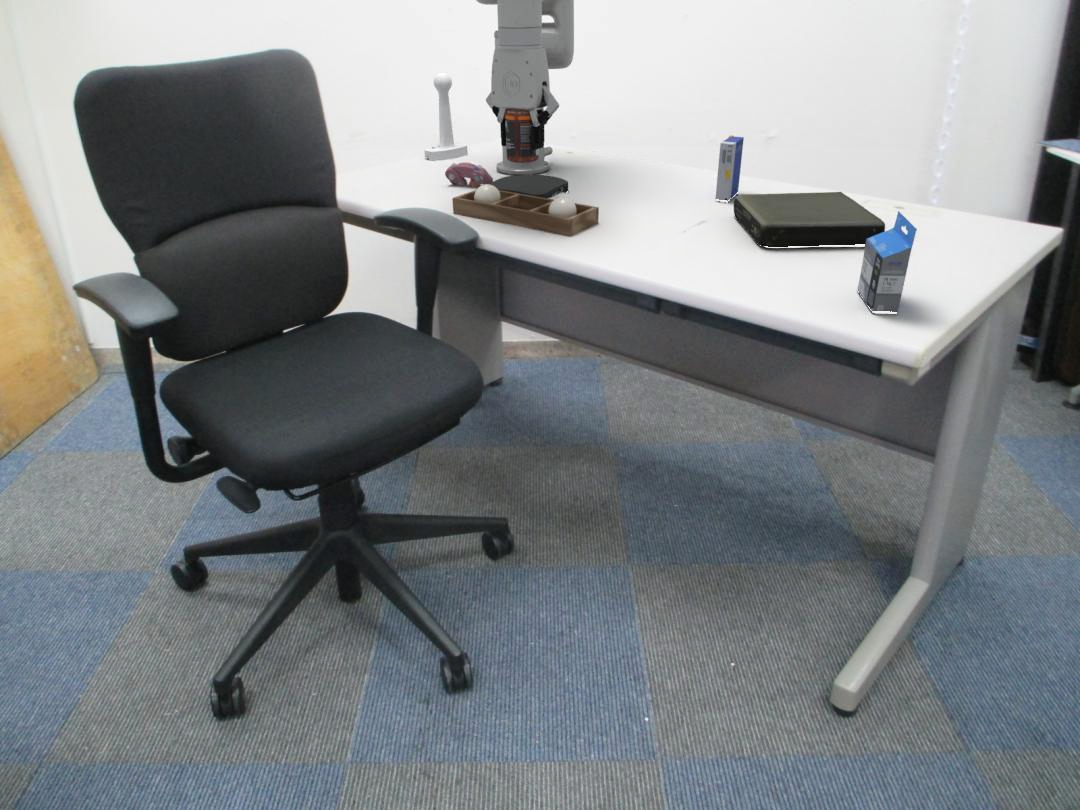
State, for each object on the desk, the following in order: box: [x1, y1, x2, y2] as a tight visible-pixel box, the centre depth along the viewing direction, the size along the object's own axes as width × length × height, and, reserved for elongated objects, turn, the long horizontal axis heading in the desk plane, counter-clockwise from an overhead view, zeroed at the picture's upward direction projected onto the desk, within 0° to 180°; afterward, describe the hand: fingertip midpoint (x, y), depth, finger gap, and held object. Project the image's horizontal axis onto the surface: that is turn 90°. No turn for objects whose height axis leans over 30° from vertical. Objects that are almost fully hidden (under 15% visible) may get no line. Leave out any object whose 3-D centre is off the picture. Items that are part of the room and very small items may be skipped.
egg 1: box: [474, 184, 501, 204], centre depth 159 cm, size 5×5×5 cm
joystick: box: [423, 72, 468, 162], centre depth 204 cm, size 11×8×20 cm
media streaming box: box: [490, 173, 569, 199], centre depth 175 cm, size 15×15×3 cm
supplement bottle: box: [505, 109, 539, 163], centre depth 148 cm, size 6×6×11 cm
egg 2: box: [548, 196, 577, 218], centre depth 150 cm, size 5×5×5 cm
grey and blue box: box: [857, 210, 918, 313], centre depth 116 cm, size 9×4×12 cm, turn 175°
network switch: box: [733, 191, 886, 247], centre depth 148 cm, size 23×24×5 cm
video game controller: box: [444, 162, 494, 188], centre depth 179 cm, size 10×5×7 cm, turn 69°
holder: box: [452, 189, 600, 238], centre depth 156 cm, size 10×27×4 cm, turn 55°
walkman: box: [715, 135, 745, 201], centre depth 167 cm, size 8×3×12 cm, turn 153°
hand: (522, 145), depth 149 cm, fingers closed on supplement bottle, 6 cm apart
